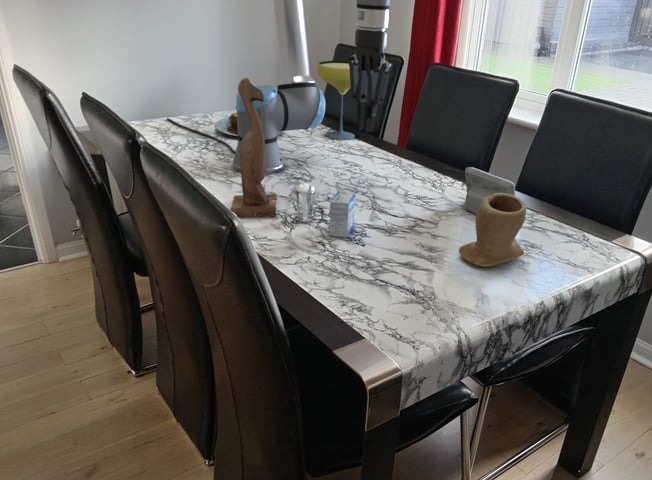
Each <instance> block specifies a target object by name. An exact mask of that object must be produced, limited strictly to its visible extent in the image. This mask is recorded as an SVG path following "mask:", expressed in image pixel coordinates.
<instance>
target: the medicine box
mask: <svg viewBox="0 0 652 480" xmlns="http://www.w3.org/2000/svg"><path fill="white" fill-rule="evenodd" d="M355 207H356V193H355V192H352V191H345V190H338V191H337V192H336V193H335V195H334V197H333V198H332V200H331V201H330V203H329V236H330V237H338V238H345V239H348V237H349V235H350V233H351V232H352V229H353V227H354V225H355Z"/></svg>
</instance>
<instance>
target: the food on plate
mask: <svg viewBox="0 0 652 480" xmlns="http://www.w3.org/2000/svg"><path fill="white" fill-rule="evenodd" d="M214 129H216V130H217V131H219V132H220V133H223V134H226V135H231V136H232V137H233V136H235V137H238V126H237V112H233V113H231V115H230V116H226V117H223V118H220V119H219V120H217V121H216V122H215V124H214ZM280 132H281V131H278V132H277V134H278V133H280ZM281 137H282V135H281Z"/></svg>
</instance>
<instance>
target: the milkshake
mask: <svg viewBox="0 0 652 480" xmlns="http://www.w3.org/2000/svg"><path fill="white" fill-rule="evenodd" d="M315 191H316V189H315V187H314V186H313V184H310V183H301V184H298V185H297V186H295V195H296V196H295V197H296V208H297V209H296V210H297V220H298V221H299V222H300V223H309V222H312V218H313V208H314V199H315Z"/></svg>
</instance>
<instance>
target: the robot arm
mask: <svg viewBox="0 0 652 480" xmlns="http://www.w3.org/2000/svg"><path fill="white" fill-rule="evenodd" d="M390 2H391V1H390V0H356V12H355V15H356V16H355V26H356V27H357V28H356V29H355V31H354V34H355V35H354V46H355V47H356V50H355V53H354V54H353V55H349V56H347V58H346V59H347V61H348V63H349V67H350V98H351V99H353V100H355V102H356V116H357V119H356V121H357V122H356V130H357V131H361V130H362V131H363V133H370V132H374V126H375V119H376V117H377V106H378V105H381V104H384V102H385V98H386V92H387V87H388V81H389V77H390V76H389V75H390V73H391V71H392V68H393V63H392V62H388V61H387V60H386V56H385V55H386V54H385V49H386V47H387V43H388V42H387V41H388V32H387V30H386V29H388V27H389V16H390ZM272 5H273V12H274V22H275V31H276V40H277V41H276V42H277V48H278V59H279V68H280V77H281V78H280V80H279V82H278V83H277V85H276V86H274V85H268V84H264V85H261V84H260V85H254V87H256V88H258V89H259V90H261V91H262V93H263V97H264V102H260V101H253V105H254V107H255V109H256V112H257V114H258V116H259V119H260V121H261V124H262V127H263V131H264V139H265V150H266V151H265V152H266V153H265V156H266V175H270V174H275V173H279V172H281V171H282V170H283V169H284V158H283V155H282V152H281V150H280V146H279V143H278V133H279V132H278V131H280V132H288V131H298V130H303V131H304V130H308V129H313V128H316V127H318V126H319V125H321V123H322V121H323V119H324V118H325V117H324V116H325V113H326V98H325V95H324V92H323V91H322V89H320V88H319V87H317V81H316V80H315V79H314V78H312V76H311V74H310V73H311V72H310V61H309V51H308V41H307V31H306V20H305V10H304V0H272ZM276 87H277V88H276ZM235 110H236V113H237V126H238V136H237V144H236V148H235V150H234V149H233V147H232V146H231V145H230V144H228V143H227V142H225V141H223V140H221V139H219V138H217V137H215V136H212V135H210V134H207V133H204V132H203V131H202V132H201V131H199V130H196V129H193V128H190V127H188V126H185V125H182V124H180V123H179V122H176V121H174V120H172V119H170V118H169V117H166V120H167V121H168V122H170V123H171V124H174V125H176V126H177V127H180V128H183V129H185V130H187V131H190V132H193V133H196V134H199V135H202V136H205V137H207V138H210V139H212V140H215V141H216V142H218V143H221V144H222V145H224V146H226V147H227V148H228V149H229V150H230V152H232V154H234V157H233V159H232V167H233V169H234V170H236V171H237V172H238V173H241V169H240V150H239V149H240V144H241V141H242V139H243V138H244V137H245V135H246V134H247V133H248V132H249V131H250V130H251V128H250V122H249V119H248V115H247V112H246V109H245V106H244V104H243V101H242V98H241V96H240V94H239V92H238V93H237V94H236V105H235ZM277 132H278V133H277Z"/></svg>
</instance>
